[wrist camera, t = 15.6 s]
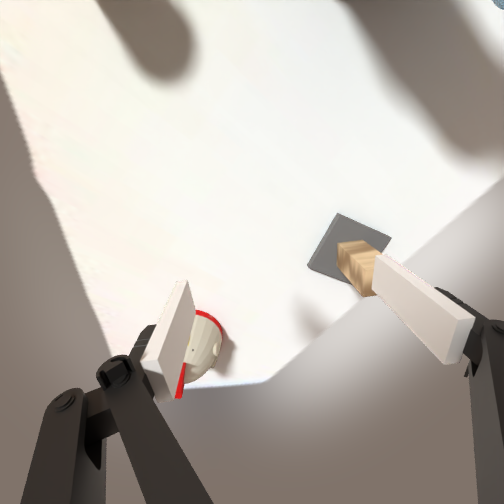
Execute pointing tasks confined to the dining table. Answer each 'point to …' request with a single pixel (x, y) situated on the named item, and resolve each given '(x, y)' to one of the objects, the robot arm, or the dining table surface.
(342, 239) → the coaster mat
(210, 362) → the kitchen timer
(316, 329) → the dining table surface
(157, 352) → the robot arm
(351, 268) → the oak block
